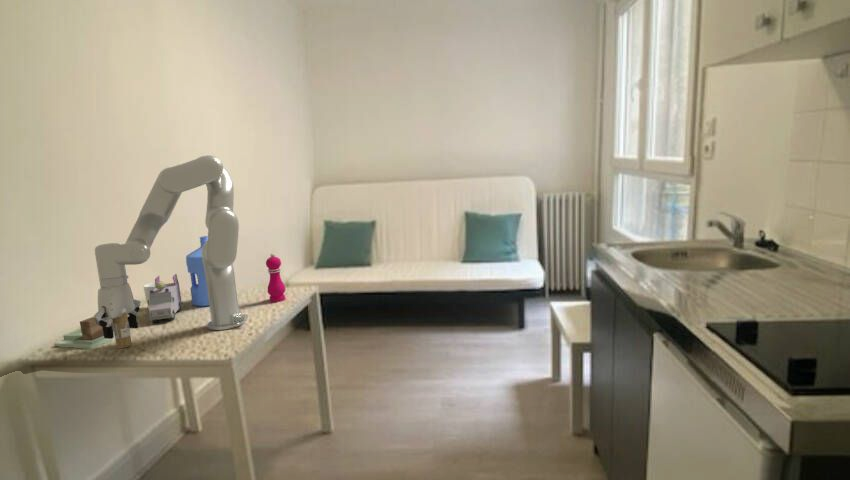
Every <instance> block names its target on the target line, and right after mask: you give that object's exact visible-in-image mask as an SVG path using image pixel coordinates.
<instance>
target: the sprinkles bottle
mask: <svg viewBox="0 0 850 480" xmlns="http://www.w3.org/2000/svg"><path fill="white" fill-rule="evenodd" d="M124 312H126V309H125V308H123V310H122V313H123V314H122V316H120V317H118V318H115V319H113V328H114V334H115V344H116V348H118V349H125V348H128V347H130V346H132V345H133V342H132V337H131V330H130V329H131V328H129V323H128V314H126V313H124Z"/></svg>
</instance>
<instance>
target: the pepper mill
mask: <svg viewBox="0 0 850 480" xmlns="http://www.w3.org/2000/svg"><path fill="white" fill-rule="evenodd" d="M275 255H276V254H275V253H274V252H273V253H270V257H268V258H267V259H266V261H265V266H266V268H268V269H267V271H268V273H269V283H268V286H267V294H268V295H269V302H271V303H278V302H280V303H281V302H282V301H285V300H286V295H285V292H286V286H285V283H284V282H283V280H282V278H281V266H282V260H281V258H279V257H277V256H275Z"/></svg>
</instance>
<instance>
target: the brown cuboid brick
mask: <svg viewBox="0 0 850 480" xmlns="http://www.w3.org/2000/svg"><path fill="white" fill-rule="evenodd" d="M106 323H107V321H106ZM79 325H80V329H81V332H82V337H83V340H90V341H92V340H95V339H97V338H100V337H102V336H104V334H103V327H100V325H98V324H97V323H96V321H95V320H94V319H93V316H91V317H89V318H86V319H84V320H81V321H79ZM110 326H112V329H113V332H114V328H113V320H112V322H111V324H110Z"/></svg>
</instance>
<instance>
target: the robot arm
mask: <svg viewBox="0 0 850 480" xmlns="http://www.w3.org/2000/svg"><path fill="white" fill-rule="evenodd" d="M232 180H233V179H232V177H231V176H230V174H229V173H228V171H227V170H226V168H225V167H224V164H223V163H222V161H221V160H220V159H219V158H218V157H216V156H215V155H210V154H209V155H202V156H199V157H197V158H195V159H192V160H190V161H187V162H184V163H181V164H176V165H173V166H170V167H166V168H164V169H162V170H161V171H160V172H159V173H158V176H157V178H156V179H155V181H154V184H153V185H152V187H151V189H150V191H149V194H148V196H147V197H146V199H145V201H144V203H143V206H142V207H141V210H140V212H139V215H138V217H137V219H136V221H135V223H134V224H133V227H132V229H131V231H130V233H129V235H128V237H127V239H126V241H125V243H122V244H120V243H119V242H117V243H116V242H115V243H113V242H112V243H110V242H109V243H104V244H99V245H97V246H96V247H95V248H94V255H95V262H96V269H97V273H98V279H99V280H98V281H99V287H100V288H98V289H97V290H98V291H97V309H98V310H97V312H95V314H94V315H93V316H92V317H93V319H94V320H95V321H96V323H97V324H98V325H100V327H103V334H104V338H108V339H112V338H113V337H114V335H113V329H112V326H110V324H111V322H112V320H113V319H115V318H118V317H120V316H122V314H123V313H122V310H123V308H125V309H126V312H124V313H126V314H127V318H128V323H129V328H130V329H139V325H138V319H137V317H138V315H139V311H140V306H141V303H142V302H141V300H137V299H135V298H134V294H133V292H132V289H131V286H130V283H129V282H128V279H129V275H128V274H127V270H126V266H127V265H128V266H129V265H131V266H132V265H134V266H135V265H141V264H144V263H146V262H147V261H148V260H149V259H150V256H151V248H152V245H153V243H154V241H155V239H156V237H157V235H158V234H159V232H160V231H161V229H162V227H163V226H164V225H165V224H166V223H168V220H169V219H170V218H171V216H172V215H173V211H174V209H175V207H176V205H177V203H178V201H179V199H180V197H181V195H182V193H184V192H187V191H190V190H193V189H196V188H198V187H201V186H204V185H205V186H206V190H207V191H206V192H207V197H206V198H207V202H206V203H207V204H206V211H205V212H206V213H205V214H206V215H205V220H204V224H205V226H206V228H207V229H208V231H207V236H208V240H207V241H206V242H205V243H204V245H203V247H202V260H203V265H204V270H205V276H206V283H207V291H208V299H209V306H208V307H209V313H210V320H211V321H209V322H208V323H207V325H206V327H207V329H209V330H211V331H212V330H213V331H223V330H229V329H233V328H236V327H239V326H241V325H243V324H245V322H247V321H248V318H249V314H246V313H245V314H243V312H242V310H241V309H240V307H239V300H238V299H239V298H238V292H237V284H236V276H235V269H234V268H235V267H234V262H235V261H236V258H237V254H238V253H237V252H238V242H239V231H240V230H239V228H240V226H239V225H240V223H239V219H238V217H237V215H236V213H235V212H234V200H235V199H234V196H235V193H234V192H235V191H234V190H235V189H234V183H233V181H232ZM106 321H107V323H106Z"/></svg>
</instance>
